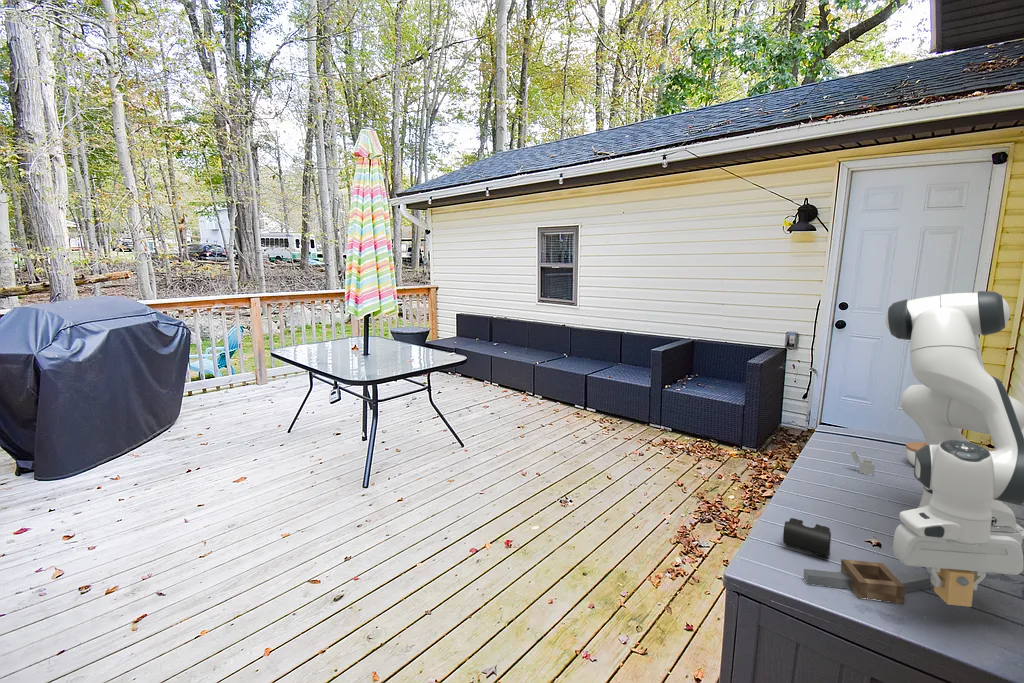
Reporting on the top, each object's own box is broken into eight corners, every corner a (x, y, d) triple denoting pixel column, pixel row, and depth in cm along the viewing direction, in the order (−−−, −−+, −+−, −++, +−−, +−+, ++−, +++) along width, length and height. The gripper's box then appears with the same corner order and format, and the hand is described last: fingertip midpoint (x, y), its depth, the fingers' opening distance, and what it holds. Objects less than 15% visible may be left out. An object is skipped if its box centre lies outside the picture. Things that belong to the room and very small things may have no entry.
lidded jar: (902, 459, 172) (904, 436, 171) (941, 465, 165) (943, 440, 164) (906, 469, 163) (908, 444, 162) (946, 475, 157) (948, 449, 156)
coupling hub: (881, 578, 105) (882, 563, 104) (903, 603, 97) (905, 586, 96) (840, 574, 107) (841, 559, 107) (858, 598, 99) (859, 582, 98)
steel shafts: (924, 581, 103) (924, 572, 103) (942, 599, 98) (943, 589, 97) (797, 568, 110) (797, 559, 110) (807, 584, 104) (807, 575, 104)
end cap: (782, 549, 118) (783, 525, 117) (787, 537, 123) (787, 514, 122) (828, 563, 111) (829, 538, 111) (831, 550, 117) (832, 526, 116)
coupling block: (954, 591, 93) (957, 560, 92) (973, 608, 88) (976, 576, 87) (932, 589, 94) (934, 558, 93) (949, 606, 89) (952, 574, 88)
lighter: (873, 474, 160) (875, 453, 159) (873, 476, 158) (875, 454, 157) (849, 469, 164) (850, 449, 163) (848, 471, 163) (850, 450, 162)
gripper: (1009, 518, 90) (1002, 582, 91) (890, 511, 95) (886, 571, 96) (1037, 536, 84) (1030, 603, 85) (908, 527, 88) (904, 591, 90)
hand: (953, 586), depth 91 cm, fingers closed on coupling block, 4 cm apart
